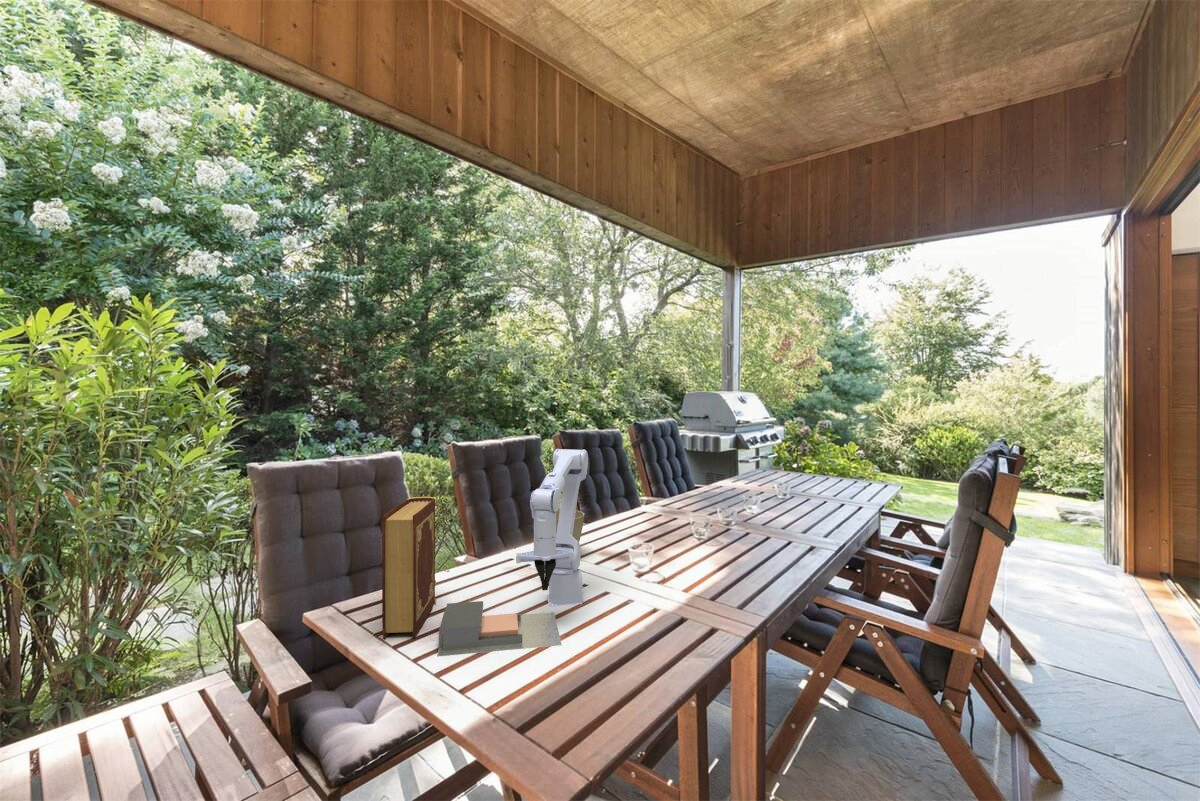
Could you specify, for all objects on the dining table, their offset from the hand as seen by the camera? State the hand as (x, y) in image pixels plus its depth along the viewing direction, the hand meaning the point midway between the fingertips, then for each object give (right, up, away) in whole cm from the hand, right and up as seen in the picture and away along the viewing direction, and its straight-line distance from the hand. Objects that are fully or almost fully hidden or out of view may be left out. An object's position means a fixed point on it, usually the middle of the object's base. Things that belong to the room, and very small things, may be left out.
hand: (544, 588), depth 128 cm
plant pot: (+1, -9, +53) cm, 54 cm away
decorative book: (-35, -10, +3) cm, 37 cm away
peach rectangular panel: (-14, -9, -6) cm, 18 cm away
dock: (-10, -9, -5) cm, 15 cm away
